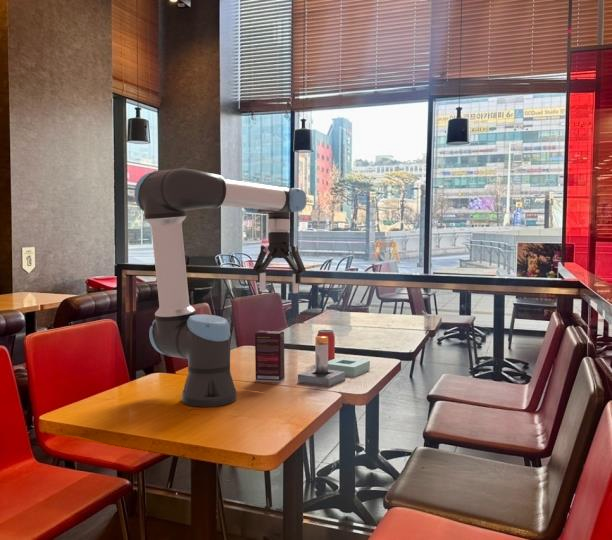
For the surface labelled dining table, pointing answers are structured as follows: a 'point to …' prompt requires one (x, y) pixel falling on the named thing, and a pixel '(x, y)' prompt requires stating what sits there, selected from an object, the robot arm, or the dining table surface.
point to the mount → (321, 378)
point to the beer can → (329, 342)
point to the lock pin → (321, 355)
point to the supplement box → (269, 356)
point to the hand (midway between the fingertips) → (278, 292)
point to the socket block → (349, 366)
